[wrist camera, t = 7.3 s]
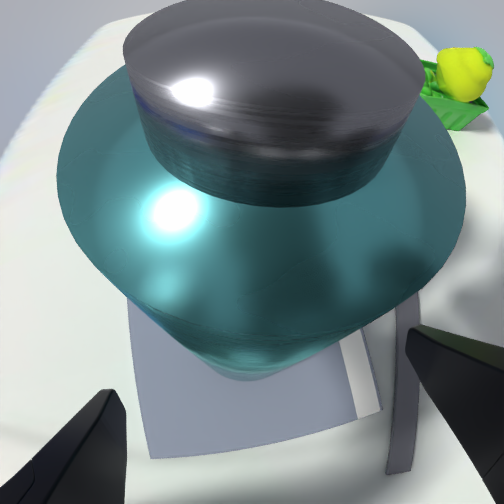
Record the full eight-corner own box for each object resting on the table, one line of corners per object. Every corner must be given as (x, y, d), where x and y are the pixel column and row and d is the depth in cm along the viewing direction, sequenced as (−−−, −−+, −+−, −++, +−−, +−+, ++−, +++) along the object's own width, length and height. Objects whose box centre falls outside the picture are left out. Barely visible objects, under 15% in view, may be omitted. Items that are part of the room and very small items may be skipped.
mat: (380, 409, 15) (383, 409, 14) (152, 457, 13) (150, 459, 13) (322, 214, 20) (324, 210, 20) (127, 246, 19) (124, 243, 18)
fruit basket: (438, 96, 29) (470, 27, 19) (477, 147, 25) (524, 75, 15) (365, 88, 28) (392, 0, 17) (405, 145, 24) (455, 45, 14)
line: (408, 470, 13) (410, 471, 12) (385, 473, 13) (387, 474, 13) (408, 234, 20) (410, 232, 19) (389, 231, 20) (391, 229, 19)
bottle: (314, 311, 17) (490, 61, 3) (266, 400, 15) (500, 455, 1) (228, 265, 18) (214, -30, 4) (175, 346, 16) (-48, 125, 2)
